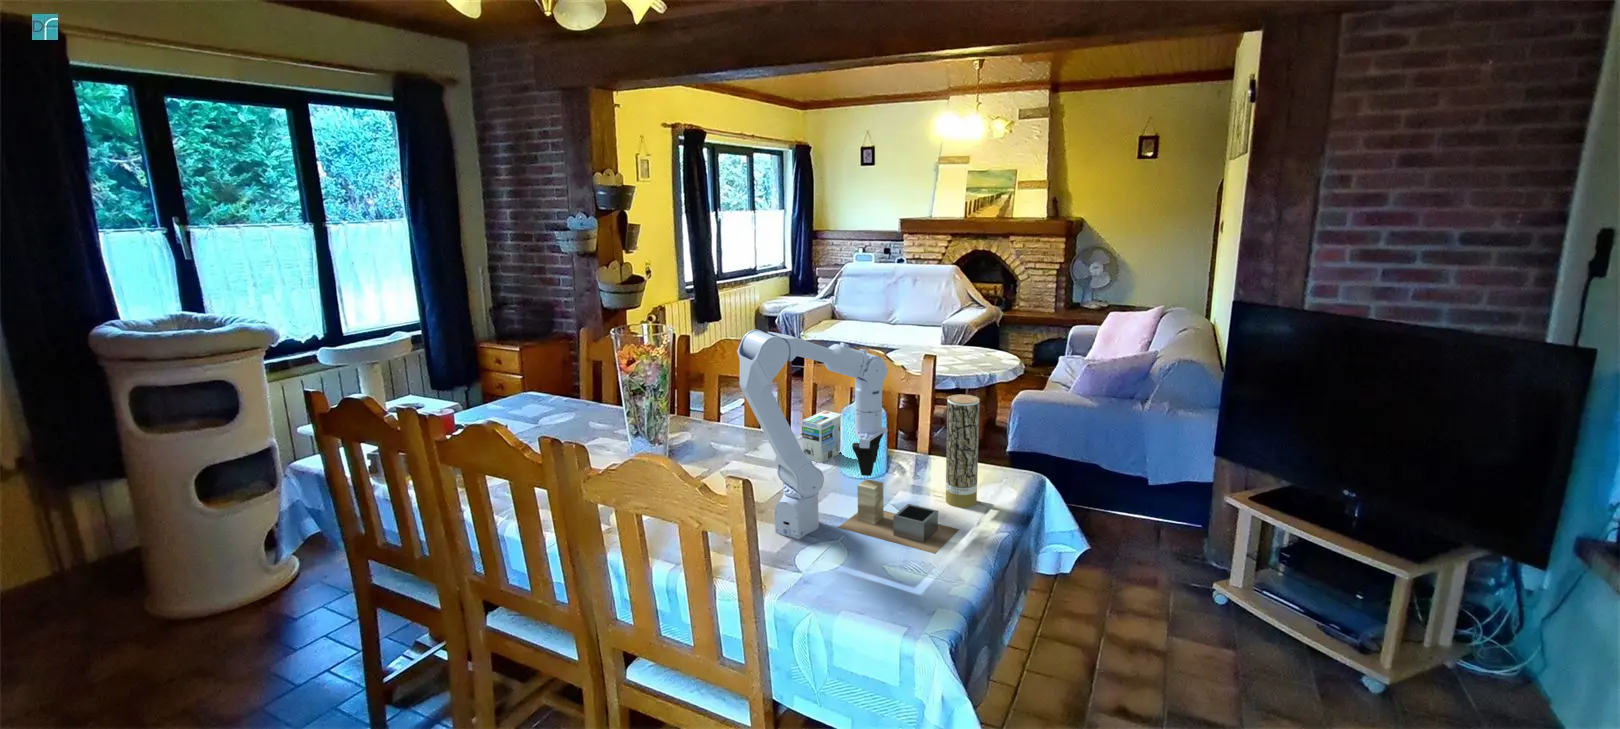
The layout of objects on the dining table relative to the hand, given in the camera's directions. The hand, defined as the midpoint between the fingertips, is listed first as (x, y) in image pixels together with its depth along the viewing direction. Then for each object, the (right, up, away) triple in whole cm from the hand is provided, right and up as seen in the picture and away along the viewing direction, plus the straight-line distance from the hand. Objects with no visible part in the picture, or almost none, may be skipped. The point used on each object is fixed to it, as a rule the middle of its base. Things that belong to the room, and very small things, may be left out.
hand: (868, 468), depth 162 cm
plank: (+5, -12, -8) cm, 16 cm away
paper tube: (+21, -9, +4) cm, 23 cm away
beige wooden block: (0, -10, -4) cm, 11 cm away
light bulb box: (-9, -2, +38) cm, 39 cm away
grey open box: (+9, -12, -11) cm, 18 cm away
